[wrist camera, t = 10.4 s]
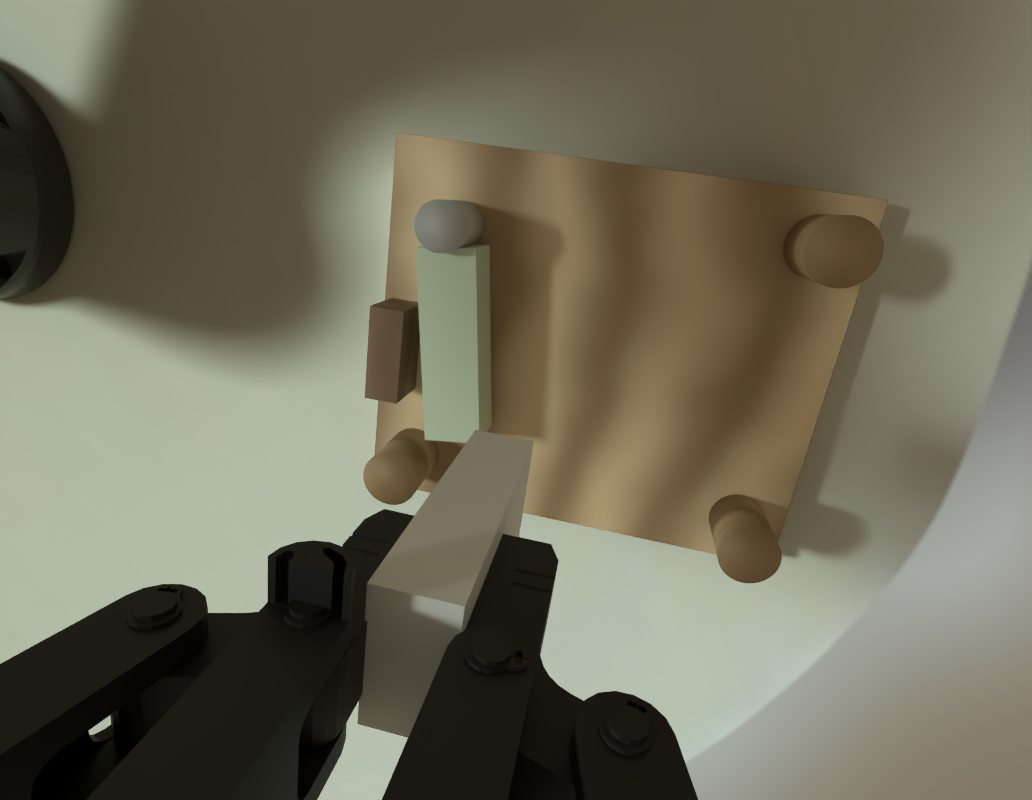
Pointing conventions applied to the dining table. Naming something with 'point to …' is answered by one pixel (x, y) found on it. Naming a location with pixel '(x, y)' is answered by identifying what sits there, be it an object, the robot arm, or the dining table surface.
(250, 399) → the dining table surface
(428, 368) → the rail
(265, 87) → the dining table surface
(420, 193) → the stool board
